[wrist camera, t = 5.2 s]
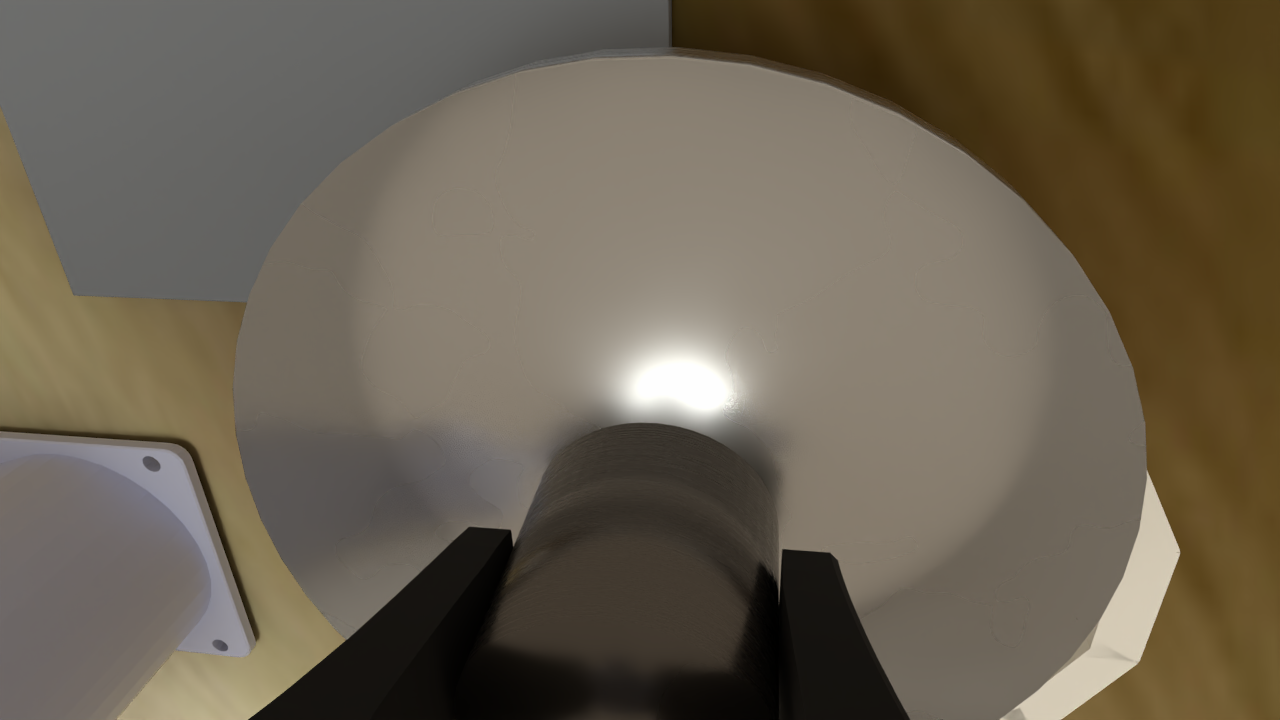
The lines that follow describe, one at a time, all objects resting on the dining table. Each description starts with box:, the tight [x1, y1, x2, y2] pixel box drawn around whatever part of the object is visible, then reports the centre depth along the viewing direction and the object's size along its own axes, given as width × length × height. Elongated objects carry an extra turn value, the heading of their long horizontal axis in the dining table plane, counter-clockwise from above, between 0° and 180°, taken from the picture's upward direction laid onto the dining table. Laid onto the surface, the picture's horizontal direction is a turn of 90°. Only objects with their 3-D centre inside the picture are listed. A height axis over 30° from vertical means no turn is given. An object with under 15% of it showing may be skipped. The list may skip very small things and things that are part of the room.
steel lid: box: [233, 47, 1147, 720], centre depth 11 cm, size 13×13×4 cm
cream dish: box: [999, 472, 1180, 720], centre depth 18 cm, size 11×11×4 cm
